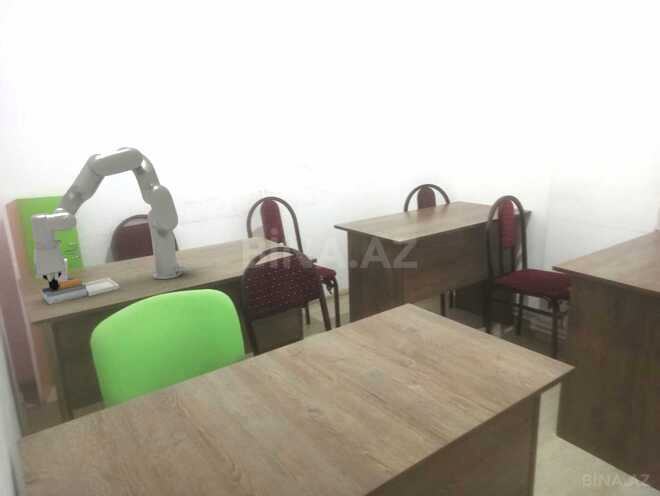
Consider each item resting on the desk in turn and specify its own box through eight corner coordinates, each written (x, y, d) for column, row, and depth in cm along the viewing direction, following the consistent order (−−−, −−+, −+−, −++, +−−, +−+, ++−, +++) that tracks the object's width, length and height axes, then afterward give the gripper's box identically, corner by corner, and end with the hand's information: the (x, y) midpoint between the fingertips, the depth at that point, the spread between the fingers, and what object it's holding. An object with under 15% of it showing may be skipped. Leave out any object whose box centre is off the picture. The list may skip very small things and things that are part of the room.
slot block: (80, 289, 204) (78, 279, 202) (87, 295, 196) (85, 285, 195) (43, 298, 195) (41, 287, 193) (49, 304, 187) (47, 293, 186)
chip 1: (69, 287, 198) (68, 280, 197) (72, 289, 195) (70, 282, 194) (58, 289, 195) (57, 282, 194) (61, 292, 192) (59, 285, 191)
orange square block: (80, 285, 200) (78, 278, 199) (82, 287, 197) (81, 280, 197) (69, 287, 198) (68, 280, 197) (72, 289, 195) (70, 282, 194)
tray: (108, 281, 213) (108, 277, 212) (119, 289, 203) (119, 284, 202) (79, 288, 205) (78, 284, 205) (89, 296, 195) (88, 291, 194)
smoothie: (54, 284, 212) (49, 253, 209) (55, 280, 218) (49, 250, 214) (71, 281, 215) (65, 251, 212) (71, 277, 221) (65, 248, 217)
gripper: (64, 240, 195) (72, 283, 200) (22, 247, 186) (31, 291, 190) (69, 243, 190) (77, 287, 194) (26, 250, 180) (35, 296, 185)
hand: (54, 289), depth 192 cm, fingers closed
